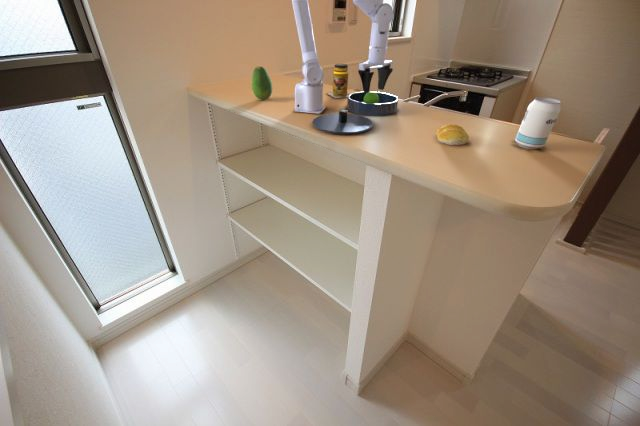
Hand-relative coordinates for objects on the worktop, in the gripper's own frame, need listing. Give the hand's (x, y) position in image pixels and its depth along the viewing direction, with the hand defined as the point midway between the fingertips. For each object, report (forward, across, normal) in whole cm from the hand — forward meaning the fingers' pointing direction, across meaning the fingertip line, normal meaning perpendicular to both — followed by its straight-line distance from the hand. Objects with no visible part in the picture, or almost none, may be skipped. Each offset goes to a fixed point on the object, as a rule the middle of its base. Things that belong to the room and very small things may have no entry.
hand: (373, 90), depth 106 cm
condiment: (+6, -4, -22) cm, 24 cm away
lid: (+6, +21, +8) cm, 24 cm away
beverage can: (+6, -8, +51) cm, 52 cm away
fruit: (+6, +26, -34) cm, 43 cm away
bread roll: (+6, +5, +36) cm, 37 cm away
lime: (+3, 0, 0) cm, 3 cm away
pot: (+6, 0, 0) cm, 6 cm away
